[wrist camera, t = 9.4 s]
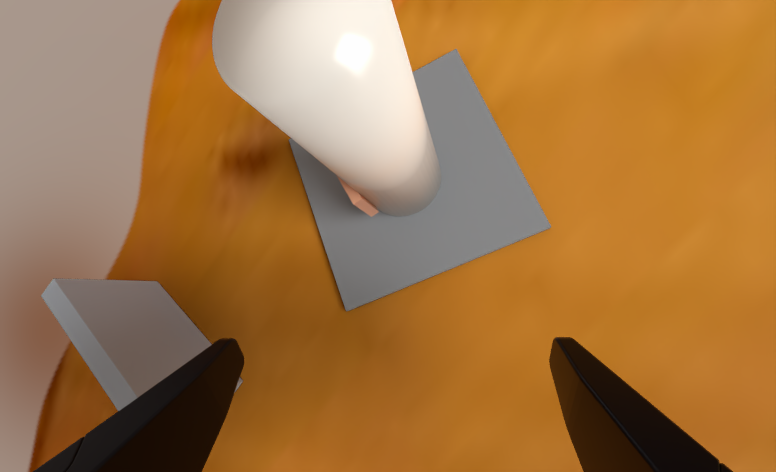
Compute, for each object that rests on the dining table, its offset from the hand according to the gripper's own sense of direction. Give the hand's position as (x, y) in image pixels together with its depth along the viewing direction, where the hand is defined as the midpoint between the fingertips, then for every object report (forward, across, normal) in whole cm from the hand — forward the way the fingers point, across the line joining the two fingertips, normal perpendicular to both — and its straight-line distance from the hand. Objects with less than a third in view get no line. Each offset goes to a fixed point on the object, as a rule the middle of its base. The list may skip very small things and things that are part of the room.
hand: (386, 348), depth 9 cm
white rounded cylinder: (+12, 0, -1) cm, 12 cm away
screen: (+8, +15, +8) cm, 19 cm away
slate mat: (+12, 0, -1) cm, 12 cm away
